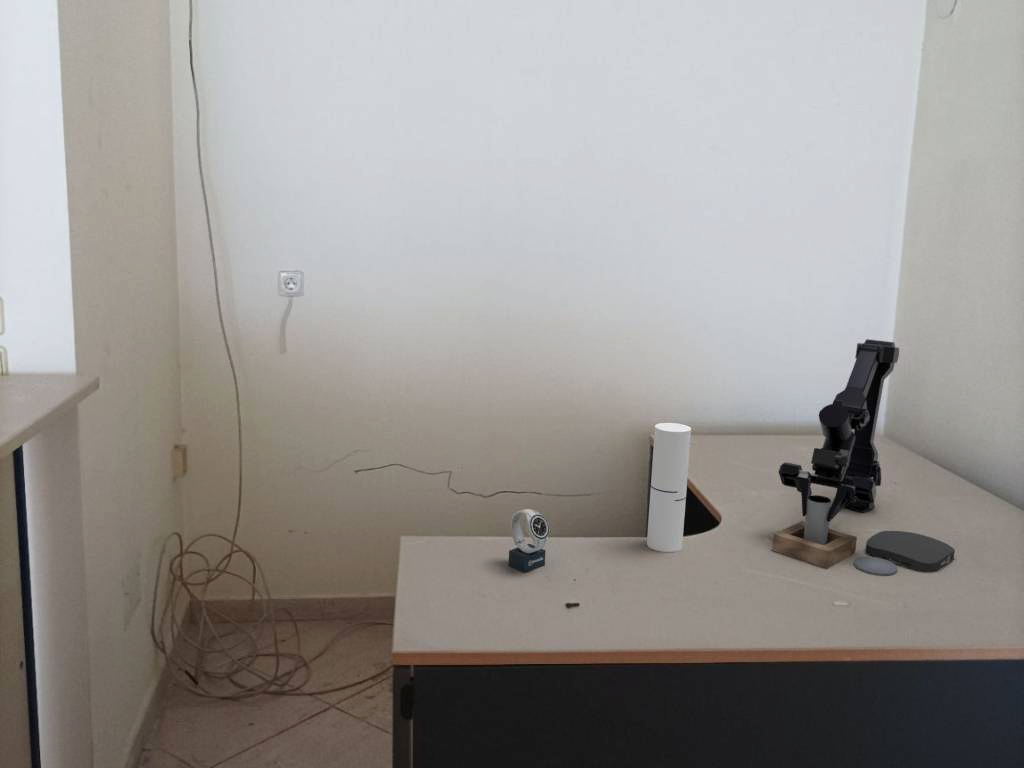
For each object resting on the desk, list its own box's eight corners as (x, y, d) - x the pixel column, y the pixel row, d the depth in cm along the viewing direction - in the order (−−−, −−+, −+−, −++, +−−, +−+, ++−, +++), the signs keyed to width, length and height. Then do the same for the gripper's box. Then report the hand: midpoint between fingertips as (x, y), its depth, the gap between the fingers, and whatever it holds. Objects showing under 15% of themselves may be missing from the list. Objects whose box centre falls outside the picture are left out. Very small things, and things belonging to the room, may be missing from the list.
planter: (827, 552, 186) (832, 503, 184) (804, 549, 187) (809, 501, 185) (824, 543, 190) (829, 496, 188) (801, 541, 191) (806, 494, 189)
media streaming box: (889, 537, 199) (890, 524, 198) (959, 558, 189) (961, 544, 188) (858, 554, 189) (860, 540, 188) (930, 577, 179) (932, 563, 178)
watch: (532, 576, 172) (534, 520, 170) (502, 563, 178) (504, 508, 175) (552, 568, 176) (555, 513, 174) (522, 555, 181) (524, 502, 179)
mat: (846, 566, 182) (846, 563, 182) (864, 556, 187) (864, 553, 187) (886, 579, 176) (886, 576, 176) (903, 568, 182) (904, 565, 182)
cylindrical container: (643, 538, 192) (651, 422, 187) (677, 538, 193) (685, 422, 188) (651, 552, 185) (659, 431, 180) (686, 552, 186) (695, 432, 181)
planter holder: (772, 550, 189) (773, 534, 188) (801, 536, 197) (802, 520, 196) (827, 568, 180) (829, 551, 180) (855, 553, 189) (857, 536, 188)
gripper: (785, 424, 192) (763, 489, 185) (879, 440, 182) (860, 509, 175) (793, 452, 200) (772, 515, 193) (883, 469, 190) (865, 535, 183)
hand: (815, 518), depth 186 cm, fingers closed on planter, 4 cm apart
